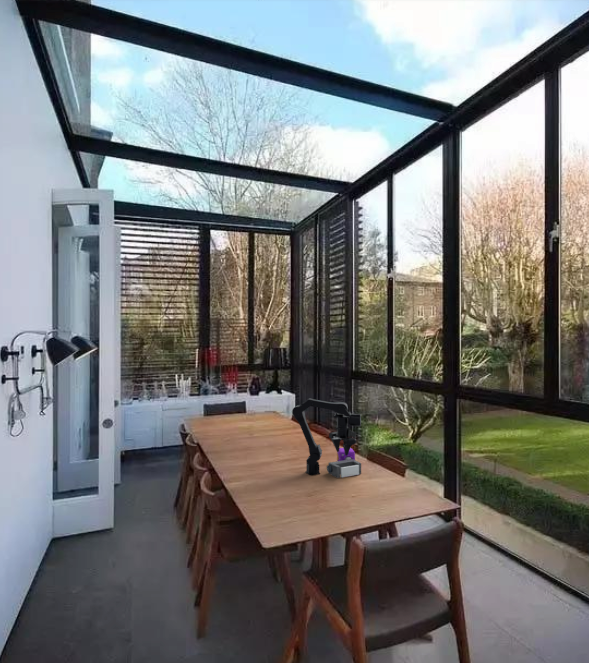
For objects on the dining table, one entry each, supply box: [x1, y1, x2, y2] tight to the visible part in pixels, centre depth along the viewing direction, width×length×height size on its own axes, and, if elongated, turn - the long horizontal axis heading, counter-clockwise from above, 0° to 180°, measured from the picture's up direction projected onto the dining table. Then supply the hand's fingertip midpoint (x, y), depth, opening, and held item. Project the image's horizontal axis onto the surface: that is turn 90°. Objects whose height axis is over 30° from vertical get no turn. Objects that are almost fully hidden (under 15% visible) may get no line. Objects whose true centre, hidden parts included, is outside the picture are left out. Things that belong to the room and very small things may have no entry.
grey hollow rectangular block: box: [326, 459, 362, 479], centre depth 239 cm, size 17×9×6 cm, turn 117°
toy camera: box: [336, 446, 356, 461], centre depth 254 cm, size 11×14×10 cm
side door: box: [340, 465, 360, 478], centre depth 235 cm, size 11×1×5 cm, turn 117°
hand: (342, 453), depth 237 cm, fingers open, 8 cm apart
